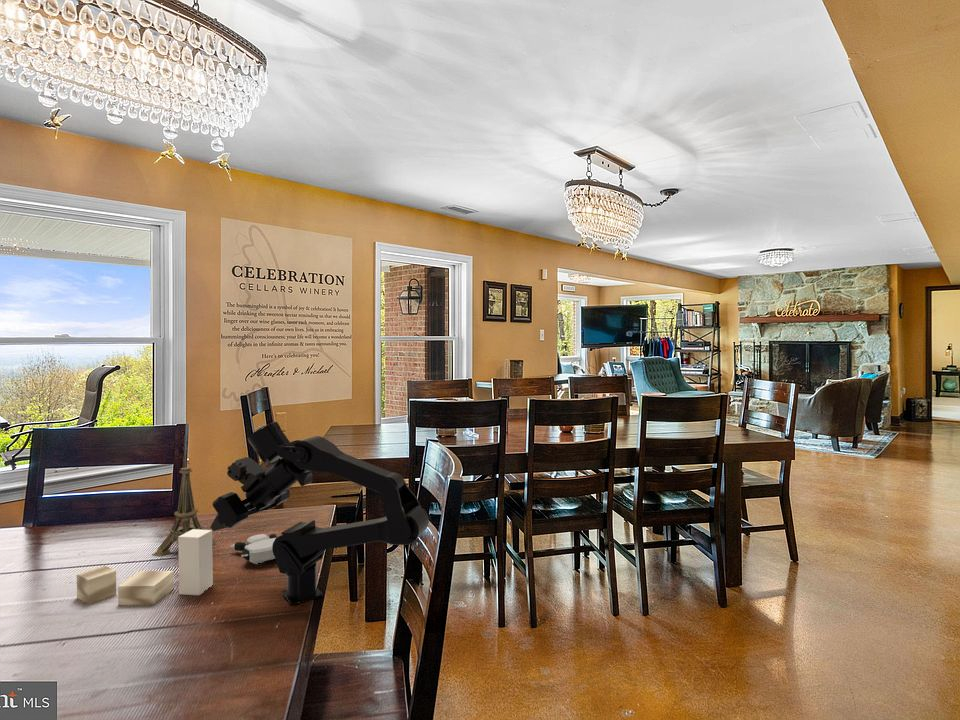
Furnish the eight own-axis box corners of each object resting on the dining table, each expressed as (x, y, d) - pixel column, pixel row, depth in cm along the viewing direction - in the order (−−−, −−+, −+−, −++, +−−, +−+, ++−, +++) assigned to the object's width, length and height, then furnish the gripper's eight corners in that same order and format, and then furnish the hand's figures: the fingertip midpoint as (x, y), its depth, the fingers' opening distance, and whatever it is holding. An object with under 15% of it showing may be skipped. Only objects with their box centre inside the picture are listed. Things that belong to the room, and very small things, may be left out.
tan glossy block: (173, 589, 111) (173, 570, 111) (154, 605, 104) (154, 585, 104) (139, 589, 111) (139, 571, 111) (118, 606, 104) (118, 586, 104)
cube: (116, 594, 108) (116, 570, 108) (88, 604, 104) (88, 579, 104) (104, 588, 111) (104, 565, 111) (76, 598, 107) (76, 574, 106)
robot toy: (227, 557, 130) (247, 572, 118) (227, 539, 130) (247, 552, 119) (277, 545, 138) (300, 558, 127) (276, 528, 138) (299, 539, 127)
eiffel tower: (184, 561, 125) (183, 457, 124) (151, 555, 128) (150, 454, 128) (219, 545, 135) (218, 449, 134) (188, 540, 138) (187, 446, 138)
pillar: (212, 585, 112) (212, 530, 112) (199, 595, 108) (198, 537, 108) (193, 584, 113) (192, 529, 113) (179, 594, 108) (178, 536, 108)
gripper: (282, 440, 119) (236, 480, 122) (225, 457, 100) (172, 503, 103) (310, 480, 117) (263, 519, 120) (257, 504, 99) (203, 550, 102)
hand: (227, 521), depth 111 cm, fingers open, 9 cm apart
